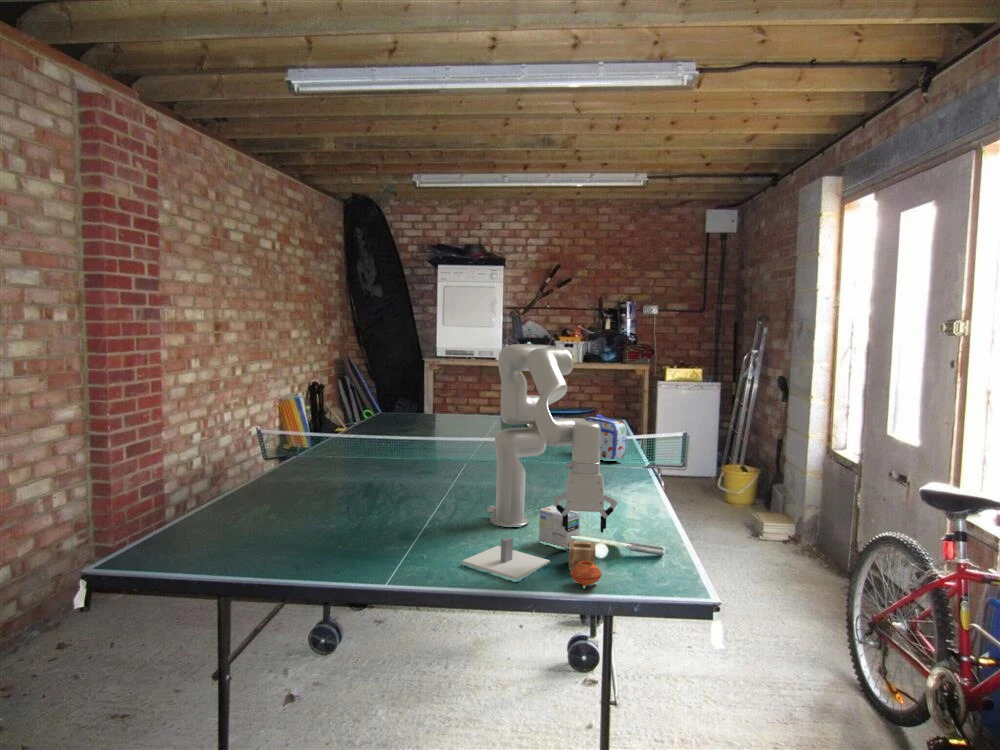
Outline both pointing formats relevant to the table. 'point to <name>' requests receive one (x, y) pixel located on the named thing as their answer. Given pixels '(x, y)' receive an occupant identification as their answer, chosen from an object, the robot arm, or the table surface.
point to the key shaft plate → (506, 568)
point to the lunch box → (611, 437)
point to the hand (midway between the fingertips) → (584, 530)
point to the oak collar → (581, 552)
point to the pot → (585, 573)
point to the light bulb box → (558, 526)
